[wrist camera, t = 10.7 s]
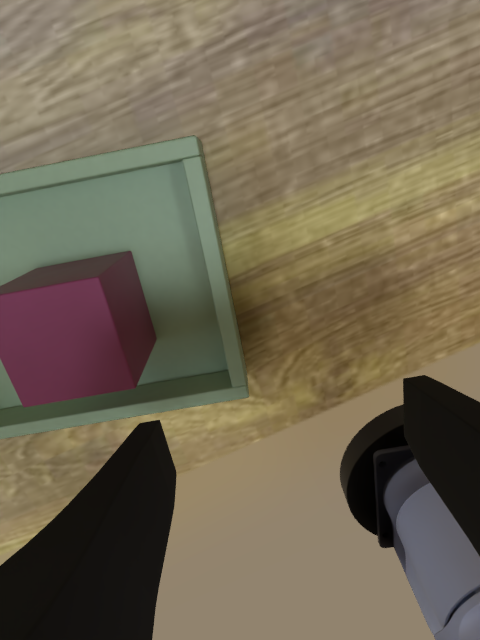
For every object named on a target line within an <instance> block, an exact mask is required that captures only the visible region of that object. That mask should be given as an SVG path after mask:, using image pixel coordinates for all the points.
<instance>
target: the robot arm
mask: <svg viewBox="0 0 480 640" xmlns="http://www.w3.org/2000/svg"><path fill="white" fill-rule="evenodd" d="M403 392H404V436H405V438H406V440H407V442H408V444H409V445H406V446H400V447H394V448H388V449H381V450H377V451H376V452H375V453H374V454H373V464H374V482H375V499H376V517H377V534H378V543H379V545H380V547H382V548H391V547H394V549H395V551H396V554H397V556H398V558H399V560H400V563H401V565H402V567H403V569H404V572H405V574H406V576H407V579H408V581H409V583H410V586H411V588H412V590H413V592H414V595H415V597H416V599H417V601H418V604H419V606H420V608H421V611H422V613H423V615H424V618H425V620H426V622H427V624H428V626H429V628H430V630H431V632H432V633H433V635H434V637H435V640H480V402H478V401H476V400H474V399H472V398H470V397H468V396H466V395H464V394H462V393H460V392H458V391H456V390H454V389H452V388H450V387H448V386H447V385H444V384H443V383H441V382H438V381H436V380H434V379H432V378H430V377H428V376H425V375H423V376H417V377H411V378H405V379H403ZM380 462H382V463H380ZM175 488H176V470H175V466H174V463H173V460H172V457H171V454H170V451H169V448H168V445H167V441H166V438H165V435H164V432H163V429H162V426H161V423H160V420H156V421H150V422H145V423H140V424H139V425H138V426H137V427H136V428H135V429H134V430H133V431H132V433H131V434H130V435H129V436H128V437H127V439H126V440H125V441H124V442H123V443H122V445H121V446H120V447H119V448H118V449H117V451H116V452H115V453H114V454H113V455H112V456H111V458H110V459H109V460H108V461H107V462H106V463H105V465H104V466H103V467H102V468H101V469H100V471H99V472H98V473H97V474H96V475H95V476H94V477H93V478H92V479H91V481H90V482H89V483H88V484H87V485H86V486H85V487H84V488H83V489H82V490H81V491H80V492H79V493H78V495H77V496H76V497H75V498H74V499H73V500H72V501H71V502H70V503H69V504H68V505H67V506H66V507H65V508H64V509H63V510H62V511H61V512H60V513H59V514H58V515H57V516H56V517H55V518H54V519H53V520H52V521H51V522H50V523H49V524H48V525H47V526H46V527H45V528H43V529H42V530H41V531H40V532H39V533H38V534H37V535H36V536H35V537H34V538H33V539H31V540H30V541H29V542H28V543H27V544H26V545H25V546H23V547H22V548H21V549H20V550H19V551H17V552H16V553H15V554H14V555H13V556H11V557H10V558H9V559H8V560H7V561H5V562H4V563H3V564H2V565H1V566H0V640H152V634H153V626H154V616H155V607H156V601H157V594H158V588H159V583H160V578H161V573H162V568H163V562H164V557H165V552H166V547H167V542H168V536H169V532H170V526H171V521H172V515H173V510H174V502H175Z"/></svg>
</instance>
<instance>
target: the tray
mask: <svg viewBox="0 0 480 640" xmlns="http://www.w3.org/2000/svg"><path fill="white" fill-rule="evenodd" d="M126 251H131V252H132V255H133V259H134V262H135V266H136V269H137V273H138V276H139V279H140V283H141V286H142V290H143V293H144V296H145V300H146V303H147V307H148V310H149V314H150V317H151V320H152V324H153V327H154V331H155V334H156V337H157V340H156V343H155V345H154V347H153V350H152V352H151V354H150V356H149V359H148V361H147V363H146V366H145V368H144V370H143V372H142V375H141V377H140V379H139V382H138V384H137V386H136V388H135V389H130V390H124V391H118V392H112V393H106V394H100V395H95V396H89V397H83V398H77V399H71V400H65V401H60V402H54V403H48V404H42V405H36V406H30V407H23V405H22V403H21V401H20V399H19V397H18V395H17V393H16V391H15V389H14V387H13V385H12V382H11V380H10V378H9V376H8V374H7V372H6V370H5V368H4V366H3V364H2V362H1V359H0V439H4V438H10V437H16V436H22V435H28V434H34V433H40V432H46V431H52V430H58V429H64V428H70V427H76V426H82V425H88V424H94V423H99V422H105V421H111V420H117V419H123V418H129V417H135V416H141V415H147V414H153V413H159V412H165V411H171V410H177V409H183V408H189V407H195V406H201V405H207V404H213V403H218V402H224V401H230V400H236V399H242V398H248V397H249V391H248V379H247V370H246V365H245V360H244V355H243V350H242V345H241V340H240V335H239V330H238V325H237V320H236V315H235V310H234V305H233V299H232V294H231V289H230V284H229V279H228V274H227V269H226V264H225V259H224V254H223V249H222V244H221V239H220V234H219V229H218V224H217V219H216V214H215V209H214V204H213V199H212V194H211V189H210V184H209V179H208V174H207V169H206V164H205V159H204V153H203V148H202V143H201V141H200V140H199V139H198V138H197V137H196V136H195V135H193V136H188V137H183V138H178V139H173V140H168V141H163V142H158V143H153V144H148V145H143V146H138V147H133V148H128V149H123V150H118V151H113V152H108V153H103V154H98V155H93V156H88V157H83V158H78V159H73V160H68V161H63V162H58V163H53V164H48V165H43V166H38V167H33V168H28V169H23V170H18V171H13V172H8V173H3V174H0V286H1V285H4V284H6V283H8V282H10V281H12V280H14V279H16V278H18V277H20V276H22V275H24V274H26V273H28V272H30V271H32V270H34V269H36V268H40V267H46V266H51V265H56V264H62V263H67V262H72V261H78V260H83V259H88V258H94V257H99V256H104V255H110V254H115V253H120V252H126Z"/></svg>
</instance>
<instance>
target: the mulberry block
mask: <svg viewBox="0 0 480 640" xmlns="http://www.w3.org/2000/svg"><path fill="white" fill-rule="evenodd" d="M156 340H157V337H156V334H155V331H154V327H153V324H152V320H151V317H150V314H149V310H148V307H147V303H146V300H145V296H144V293H143V290H142V286H141V283H140V279H139V276H138V273H137V269H136V266H135V262H134V259H133V255H132V252H131V251H126V252H120V253H115V254H110V255H104V256H99V257H94V258H88V259H83V260H78V261H72V262H67V263H62V264H56V265H51V266H46V267H40V268H36V269H34V270H32V271H30V272H28V273H26V274H24V275H22V276H20V277H18V278H16V279H14V280H12V281H10V282H8V283H6V284H4V285H1V286H0V359H1V362H2V364H3V366H4V368H5V370H6V372H7V374H8V376H9V378H10V380H11V382H12V385H13V387H14V389H15V391H16V393H17V395H18V397H19V399H20V401H21V403H22V405H23V407H30V406H36V405H42V404H48V403H54V402H60V401H65V400H71V399H77V398H83V397H89V396H95V395H100V394H106V393H112V392H118V391H124V390H130V389H135V388H136V386H137V384H138V382H139V379H140V377H141V375H142V372H143V370H144V368H145V366H146V363H147V361H148V359H149V356H150V354H151V352H152V350H153V347H154V345H155V343H156Z"/></svg>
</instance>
